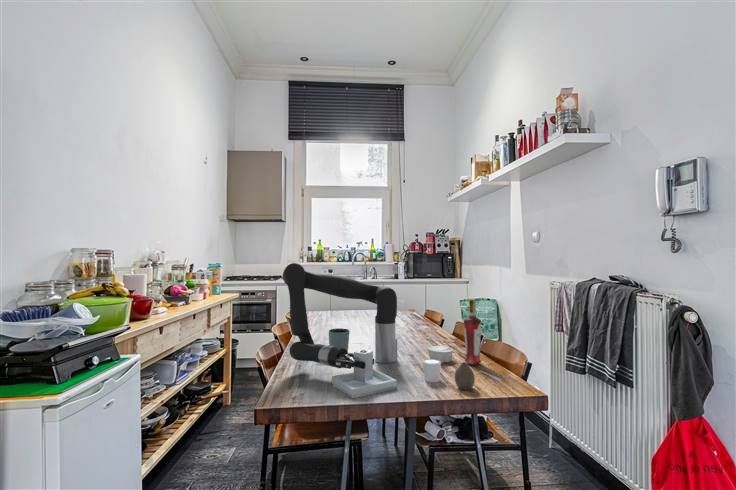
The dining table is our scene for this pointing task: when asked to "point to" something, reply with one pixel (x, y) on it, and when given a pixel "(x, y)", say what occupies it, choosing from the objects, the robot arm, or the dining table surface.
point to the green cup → (339, 338)
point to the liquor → (472, 335)
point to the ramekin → (440, 353)
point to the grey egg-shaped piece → (464, 377)
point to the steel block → (367, 372)
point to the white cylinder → (432, 370)
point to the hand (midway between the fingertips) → (369, 363)
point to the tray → (363, 384)
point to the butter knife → (492, 376)
